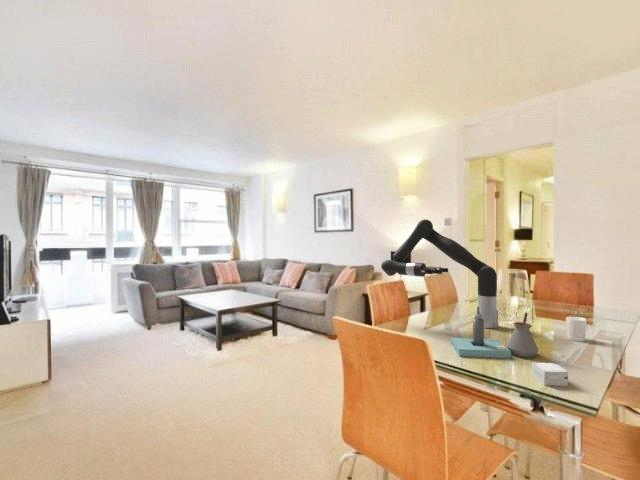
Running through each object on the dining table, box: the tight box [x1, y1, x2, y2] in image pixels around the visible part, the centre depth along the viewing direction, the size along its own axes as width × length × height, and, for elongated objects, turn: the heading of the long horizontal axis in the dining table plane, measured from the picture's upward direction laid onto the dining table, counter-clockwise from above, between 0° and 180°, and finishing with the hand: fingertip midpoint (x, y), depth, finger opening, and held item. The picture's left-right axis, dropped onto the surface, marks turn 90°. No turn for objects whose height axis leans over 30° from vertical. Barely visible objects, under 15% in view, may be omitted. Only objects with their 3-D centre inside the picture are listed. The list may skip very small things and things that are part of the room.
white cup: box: [565, 316, 588, 342], centre depth 160 cm, size 8×8×10 cm
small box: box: [531, 362, 569, 387], centre depth 116 cm, size 8×8×5 cm
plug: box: [472, 306, 485, 346], centre depth 147 cm, size 4×4×19 cm
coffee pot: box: [506, 312, 539, 358], centre depth 146 cm, size 21×12×15 cm, turn 142°
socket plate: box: [450, 337, 512, 359], centre depth 147 cm, size 20×16×4 cm
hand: (445, 271), depth 176 cm, fingers open, 8 cm apart
